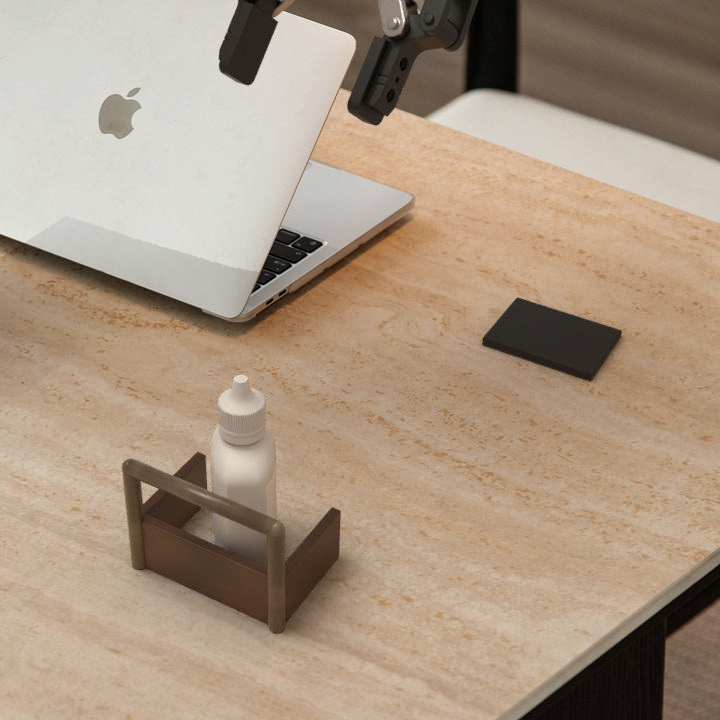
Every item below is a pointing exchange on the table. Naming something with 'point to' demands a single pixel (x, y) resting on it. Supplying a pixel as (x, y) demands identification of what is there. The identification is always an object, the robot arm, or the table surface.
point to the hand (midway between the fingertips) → (295, 98)
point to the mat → (553, 338)
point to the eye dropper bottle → (243, 467)
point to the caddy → (213, 563)
